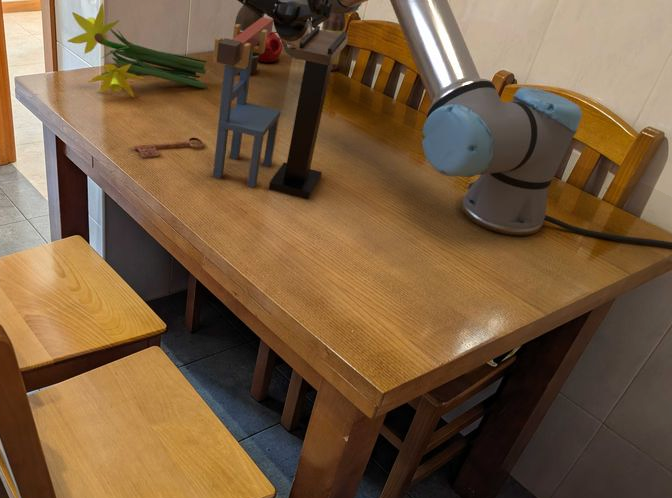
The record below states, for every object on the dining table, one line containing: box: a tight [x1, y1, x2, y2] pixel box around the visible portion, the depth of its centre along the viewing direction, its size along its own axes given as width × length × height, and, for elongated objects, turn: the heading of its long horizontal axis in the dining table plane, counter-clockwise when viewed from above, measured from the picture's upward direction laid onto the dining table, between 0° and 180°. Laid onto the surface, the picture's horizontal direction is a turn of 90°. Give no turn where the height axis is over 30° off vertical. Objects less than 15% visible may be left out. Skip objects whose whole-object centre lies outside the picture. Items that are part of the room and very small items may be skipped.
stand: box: [268, 25, 349, 200], centre depth 119 cm, size 14×8×27 cm, turn 159°
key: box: [133, 137, 204, 159], centre depth 134 cm, size 6×1×15 cm
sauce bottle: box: [321, 13, 346, 72], centre depth 178 cm, size 7×6×20 cm
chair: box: [212, 24, 282, 188], centre depth 122 cm, size 12×11×25 cm
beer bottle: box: [234, 4, 261, 76], centre depth 168 cm, size 8×8×24 cm
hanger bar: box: [217, 16, 274, 66], centre depth 118 cm, size 24×3×3 cm, turn 159°
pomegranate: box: [258, 31, 283, 63], centre depth 182 cm, size 10×10×9 cm
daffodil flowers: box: [67, 3, 208, 98], centre depth 153 cm, size 17×15×35 cm
